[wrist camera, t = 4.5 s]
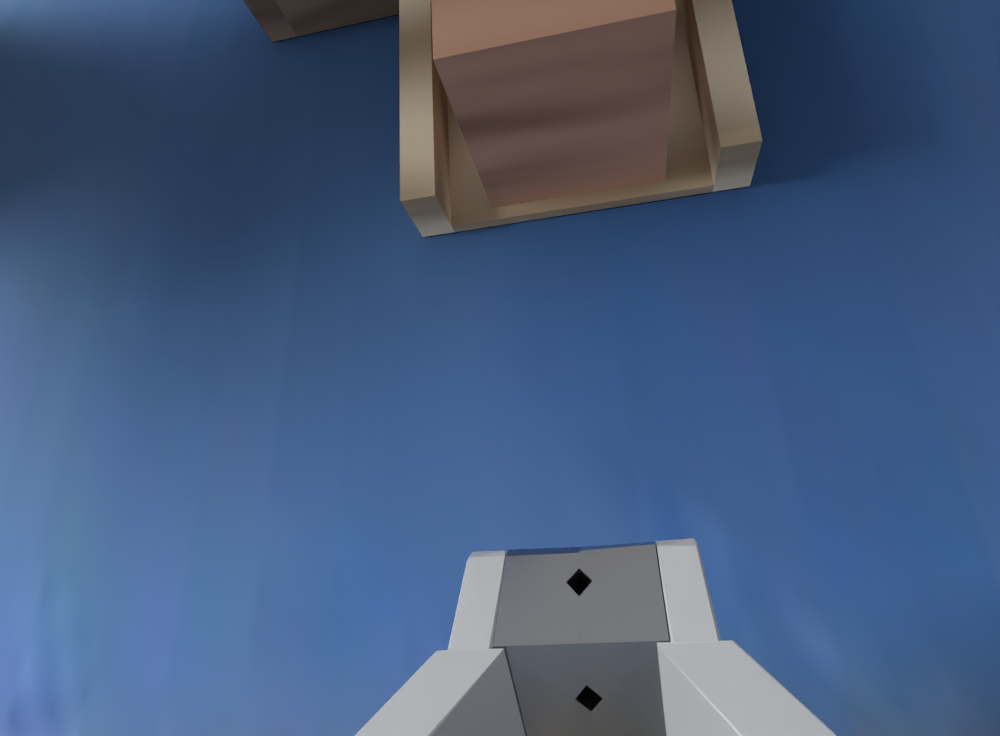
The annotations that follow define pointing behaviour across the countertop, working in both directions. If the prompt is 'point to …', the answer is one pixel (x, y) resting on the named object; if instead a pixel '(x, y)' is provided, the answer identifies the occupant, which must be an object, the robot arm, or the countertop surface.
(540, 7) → the mahogany brick
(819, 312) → the countertop surface
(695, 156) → the wooden cross frame
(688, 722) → the robot arm
